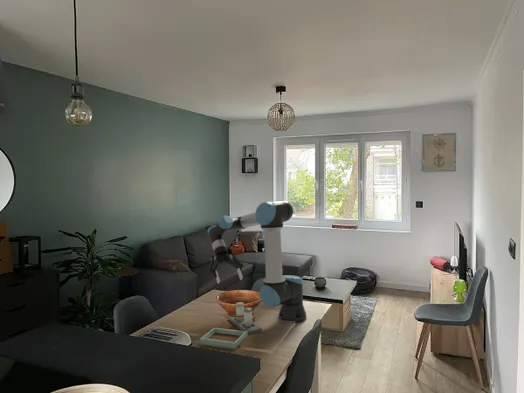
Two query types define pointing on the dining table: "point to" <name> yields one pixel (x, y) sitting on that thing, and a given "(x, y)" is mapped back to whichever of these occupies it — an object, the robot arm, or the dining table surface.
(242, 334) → the tray
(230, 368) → the dining table surface
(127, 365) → the dining table surface
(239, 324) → the fuse holder
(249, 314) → the plain fuse
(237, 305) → the marked fuse
